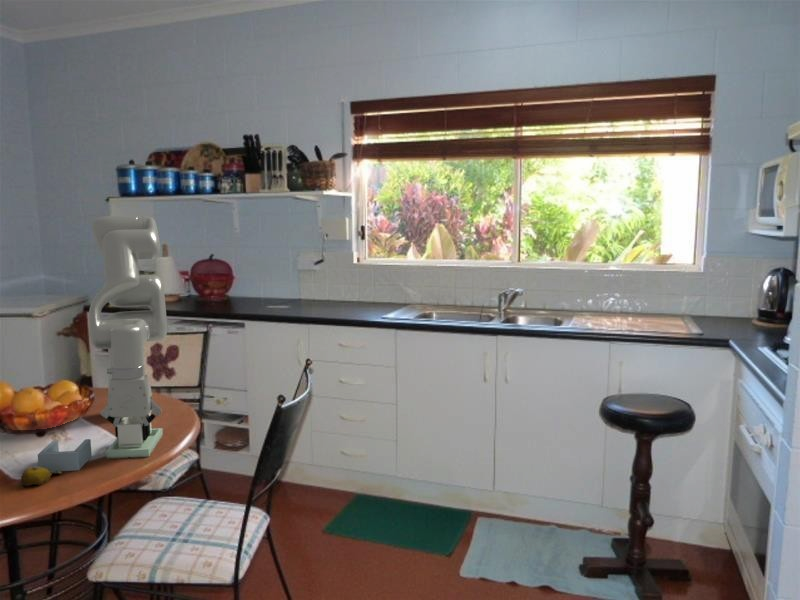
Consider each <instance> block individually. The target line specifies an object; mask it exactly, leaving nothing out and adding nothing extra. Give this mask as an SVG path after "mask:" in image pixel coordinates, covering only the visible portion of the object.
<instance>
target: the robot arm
mask: <svg viewBox="0 0 800 600" xmlns="http://www.w3.org/2000/svg"><path fill="white" fill-rule="evenodd" d="M91 231H92V235H93V239H94V242H95V244H96V246H97V249H98V251H99V253H100V254H101V257H102V259H103V265H104V266H103V267H104V268H103V269H104V280H105V282H104V285H103V286H102V287H101V288H100V290H99V291H97V293H96V294H95V295H94V297H93V299H92V300H91V303H90V306H89V310H88V322H89V325H88V326H89V328H88V329H89V340H90V343H91V345H92V346H93V347H94V348H96V349H97V350H107V351H108V358H109V359H108V361H109V368H107V369H106V374H107V375H110V379H109V383H108V393H107V394H108V395H107V404H106V406H105V407H104V408H103V410H101V412H100V413H99V414H100V415H101V416H102V417H103V418H104V419H106V420H107V421H108V422H109V423H110V424H112V426H113V428H114V429H115V431H114V432H115V433H114V434H115V438H118V428H117V425H118V424H119V423H120V422H121V420H122V419H123V418H124V417H141V419H142V422H143V426H142V432H143V441H145V440H146V439H147V438H148V436H150V422H151V423H152V422H153V420H155V418H156V417H158V416H159V415H160V414H161V413H162V412H163V409H162V407H160V406H159V405H158V404H157V403H156V402H155V401H154V400H153V394H152V387H151V383H150V380H149V375H148V374H146V371H145V370H146V367H145V366H146V365H145V351H144V345H145V344H146V343H147V342H158V341H162V340H164V339H165V338H166V336H167V334H168V320H167V309H166V307H167V306H166V297H165V296H166V294H165V287H164V283H163V280H162V279H161V277H159V276H158V275H157V274H156V275H155V274H139V273H140V272H139V263H138V260H153V259H157V258H158V256H159V255H160V250H161V245H160V243H161V241H160V236H159V230H158V226H157V222H156V220H155V219H154V218H153V217H152V216H149V215H106V216H100V217H99V216H98V217H97V218H95V219H94V220H93V221H92V222H91ZM108 303H109V305H111V307H116V308H130V307H131V308H133V307H148V308H149V310H148V309H147V310H131V311H118V312H112V313H111V314H110V313H109V315H107V316H106V317H105V318H104V320H102V319H101V314H102V310H103V308H104V306H106V305H107V304H108ZM150 411H151V415H150V416H149V413H150ZM153 411H154V412H153Z"/></svg>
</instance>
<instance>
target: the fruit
mask: <svg viewBox="0 0 800 600" xmlns="http://www.w3.org/2000/svg"><path fill="white" fill-rule="evenodd" d="M62 473H63V471H59V470H57V471H55V472H52V471H48V470H47V469H46V468H44V467H39V466H38V467H37V466H32V467H28V468H26V469H25V470H24V471H23V472H22V475H21V476H20V477H21V479H20V483H21V485H22V487H23V488H25V487H30V486H31V485H38V486H41V485H46V484H47V483H48V482H49V481H50V480H51V476H52V474H54V475H56V474H58V476H60V475H61V474H62Z"/></svg>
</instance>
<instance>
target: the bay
mask: <svg viewBox="0 0 800 600" xmlns="http://www.w3.org/2000/svg"><path fill="white" fill-rule="evenodd" d="M91 441H92V440H91V439H90V438H87V439H84V440H83V441H82V442H81V443H80V445H78V446H77V447H76V448H75V450H70V451H67V450H65V451H64V450H63V451H60V450H59V449H60V448H59V440H52V441H50V443H49V444H47V445H46V446H45V447H44V448H43V449H42V450H41V451H39V453H37V461H38V467H44V468H46V469H47V470H48V471H52V472H56V471H57V470H59V471H61V472H70V471H71V472H73V471H75V472H76V471H80V470H81V469H82V468H83V466H84V465H85V464H86V463H88V461H89V459H90V458H91V457H92V456H93V455H92V454H93V453H92V442H91ZM91 455H92V456H91Z"/></svg>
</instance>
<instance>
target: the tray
mask: <svg viewBox="0 0 800 600" xmlns="http://www.w3.org/2000/svg"><path fill="white" fill-rule="evenodd" d="M163 430H164V429H163V428H162V427H161V428H160V427H158V428H152V432H151V434H150V436H149V437H148V438H147V440H146V441H145V442H144V444H143V445H142V446H141V447H119V442H118V437H116V439H115V440H114V441H113V443H112V444H111V445H110V446H109V447H108V448H107V450H106V453H105V454H106V459H107V460H108V459H129V458H128V457H131V458H143V457H144V458H147V457H150V456H151V454H152V453H153V451H154V450H155V448H156V446H157V445H158V443H159V442H160V440H161V438H162V437H163V436H164V433H163V432H164V431H163Z"/></svg>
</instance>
